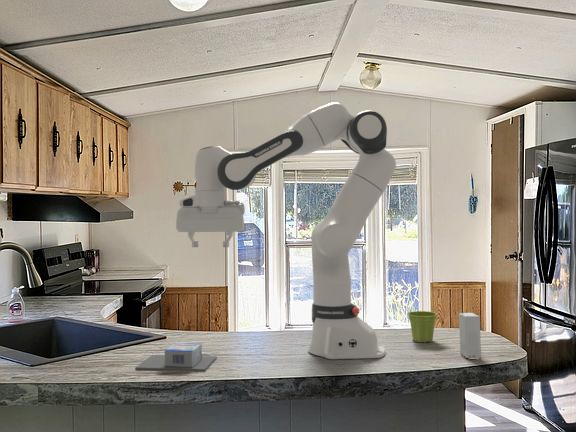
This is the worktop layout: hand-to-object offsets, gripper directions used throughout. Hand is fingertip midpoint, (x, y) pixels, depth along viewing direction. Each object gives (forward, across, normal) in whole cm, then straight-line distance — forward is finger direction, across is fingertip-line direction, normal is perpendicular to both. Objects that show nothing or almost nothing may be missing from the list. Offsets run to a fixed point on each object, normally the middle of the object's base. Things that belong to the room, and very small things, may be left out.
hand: (210, 247), depth 173 cm
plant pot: (+31, -64, -18) cm, 74 cm away
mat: (+31, +6, +15) cm, 35 cm away
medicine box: (+28, +4, +20) cm, 35 cm away
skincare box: (+31, -75, +1) cm, 81 cm away
